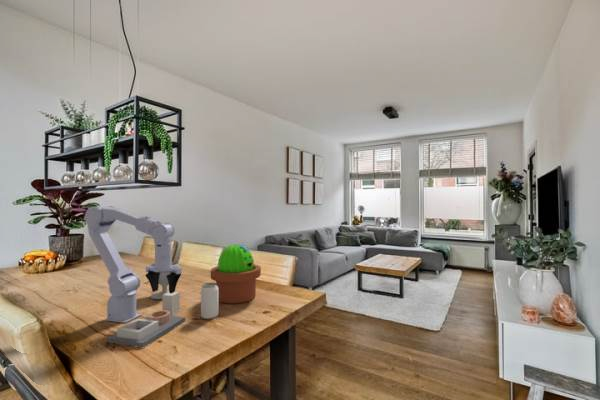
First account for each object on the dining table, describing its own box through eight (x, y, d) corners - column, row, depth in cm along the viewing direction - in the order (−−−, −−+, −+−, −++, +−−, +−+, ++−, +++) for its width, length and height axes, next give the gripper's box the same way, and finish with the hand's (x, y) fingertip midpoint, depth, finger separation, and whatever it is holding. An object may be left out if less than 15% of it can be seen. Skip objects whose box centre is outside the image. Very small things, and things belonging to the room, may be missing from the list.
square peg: (162, 315, 113) (162, 294, 113) (170, 311, 118) (170, 291, 118) (172, 316, 112) (172, 295, 112) (179, 312, 117) (179, 292, 117)
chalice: (186, 293, 139) (186, 262, 139) (160, 302, 127) (160, 268, 127) (168, 289, 146) (168, 259, 147) (141, 297, 134) (141, 265, 134)
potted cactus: (200, 301, 130) (200, 244, 130) (233, 287, 149) (233, 239, 149) (239, 309, 119) (239, 248, 119) (269, 294, 139) (269, 241, 139)
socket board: (106, 342, 92) (106, 329, 92) (153, 317, 111) (153, 307, 111) (143, 348, 88) (143, 334, 88) (185, 321, 108) (185, 310, 108)
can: (212, 311, 117) (212, 281, 117) (221, 315, 113) (221, 284, 113) (197, 316, 112) (197, 285, 112) (207, 320, 108) (207, 288, 108)
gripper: (139, 257, 108) (139, 293, 108) (172, 258, 104) (172, 296, 104) (153, 253, 114) (153, 288, 114) (185, 255, 110) (185, 290, 110)
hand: (163, 291), depth 109 cm, fingers open, 7 cm apart
